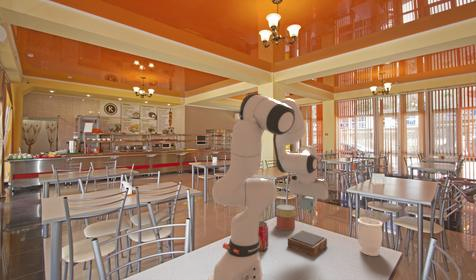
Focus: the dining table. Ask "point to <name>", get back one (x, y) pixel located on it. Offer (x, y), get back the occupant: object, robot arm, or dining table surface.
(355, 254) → the dining table surface
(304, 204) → the pale green block
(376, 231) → the jar
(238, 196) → the robot arm
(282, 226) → the canned food
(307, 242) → the walnut picture frame
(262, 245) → the beverage can
